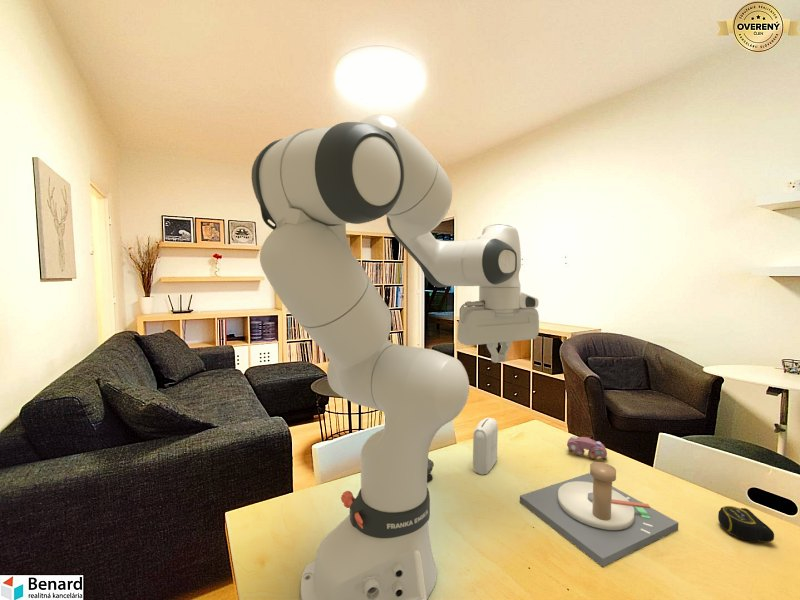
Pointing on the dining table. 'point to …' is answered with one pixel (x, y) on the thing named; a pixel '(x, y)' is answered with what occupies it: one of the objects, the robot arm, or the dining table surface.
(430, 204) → the robot arm
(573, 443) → the pink toy car
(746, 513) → the tape measure
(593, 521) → the tuning dial
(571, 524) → the dial board
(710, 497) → the dining table surface
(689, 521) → the dining table surface
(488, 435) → the photo printer
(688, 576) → the dining table surface
